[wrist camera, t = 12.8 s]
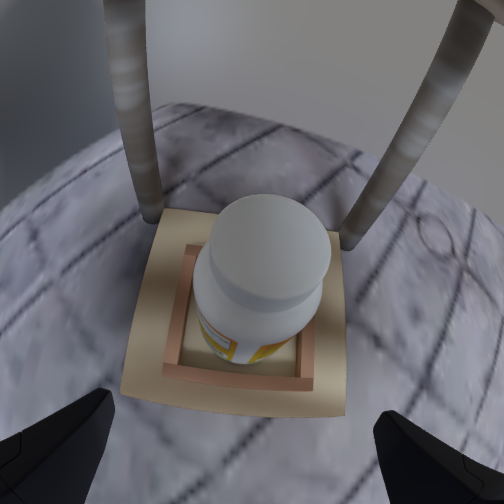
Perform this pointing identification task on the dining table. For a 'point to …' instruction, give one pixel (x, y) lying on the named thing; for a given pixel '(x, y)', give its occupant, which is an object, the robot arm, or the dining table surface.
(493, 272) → the dining table surface
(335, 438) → the dining table surface
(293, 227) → the supplement bottle
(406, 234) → the dining table surface
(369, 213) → the wood and grey frame
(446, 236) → the dining table surface
